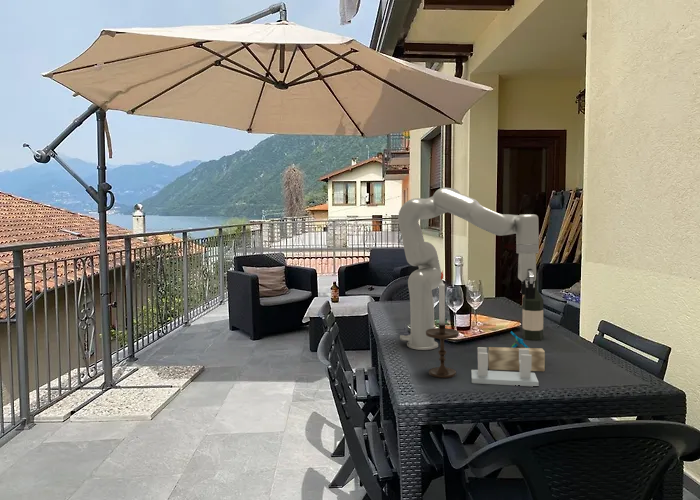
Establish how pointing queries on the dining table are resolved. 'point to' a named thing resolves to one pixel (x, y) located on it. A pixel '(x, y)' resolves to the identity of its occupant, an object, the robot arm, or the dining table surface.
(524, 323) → the wine bottle
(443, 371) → the candlestick
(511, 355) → the rail
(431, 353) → the dining table surface
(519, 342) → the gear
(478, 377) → the cradle
